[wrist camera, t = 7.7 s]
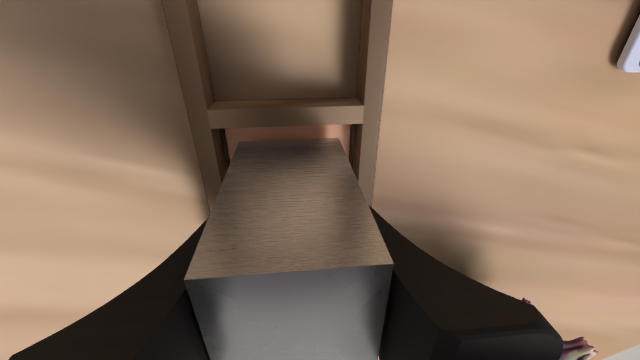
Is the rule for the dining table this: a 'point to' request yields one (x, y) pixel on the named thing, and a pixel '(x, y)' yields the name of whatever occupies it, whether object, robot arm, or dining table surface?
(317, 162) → the square peg
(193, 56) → the rail
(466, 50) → the dining table surface
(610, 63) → the dining table surface
